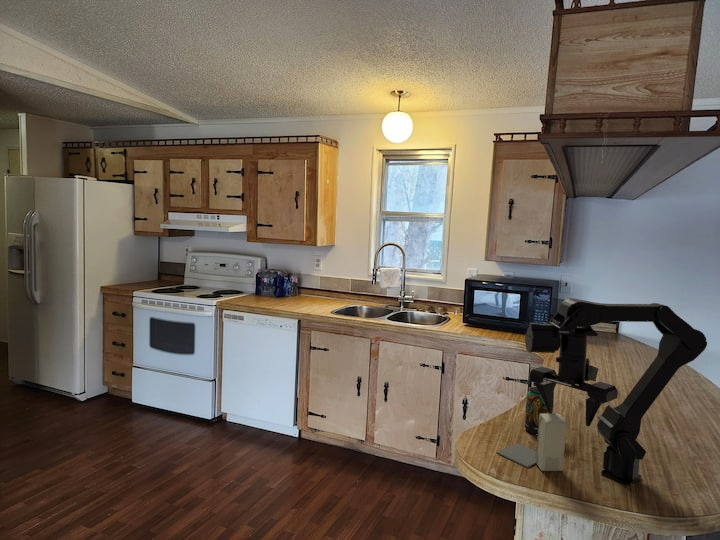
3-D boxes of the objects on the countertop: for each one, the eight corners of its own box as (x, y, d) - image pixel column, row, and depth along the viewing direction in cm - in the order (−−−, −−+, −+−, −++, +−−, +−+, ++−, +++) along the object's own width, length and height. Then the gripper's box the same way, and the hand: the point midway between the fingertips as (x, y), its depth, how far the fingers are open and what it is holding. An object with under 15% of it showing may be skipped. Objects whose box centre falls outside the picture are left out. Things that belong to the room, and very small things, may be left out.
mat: (548, 458, 119) (549, 456, 119) (527, 467, 114) (527, 466, 114) (518, 444, 127) (518, 443, 127) (496, 453, 121) (496, 451, 121)
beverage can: (524, 433, 134) (526, 392, 133) (524, 424, 141) (527, 384, 140) (551, 438, 132) (554, 395, 131) (550, 428, 138) (553, 388, 137)
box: (554, 461, 117) (560, 412, 114) (562, 472, 113) (569, 422, 110) (533, 460, 117) (539, 412, 114) (540, 471, 112) (546, 421, 110)
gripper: (631, 357, 108) (626, 424, 109) (554, 341, 122) (550, 400, 124) (607, 365, 101) (602, 436, 102) (529, 347, 116) (525, 409, 117)
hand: (568, 419), depth 111 cm, fingers open, 9 cm apart
